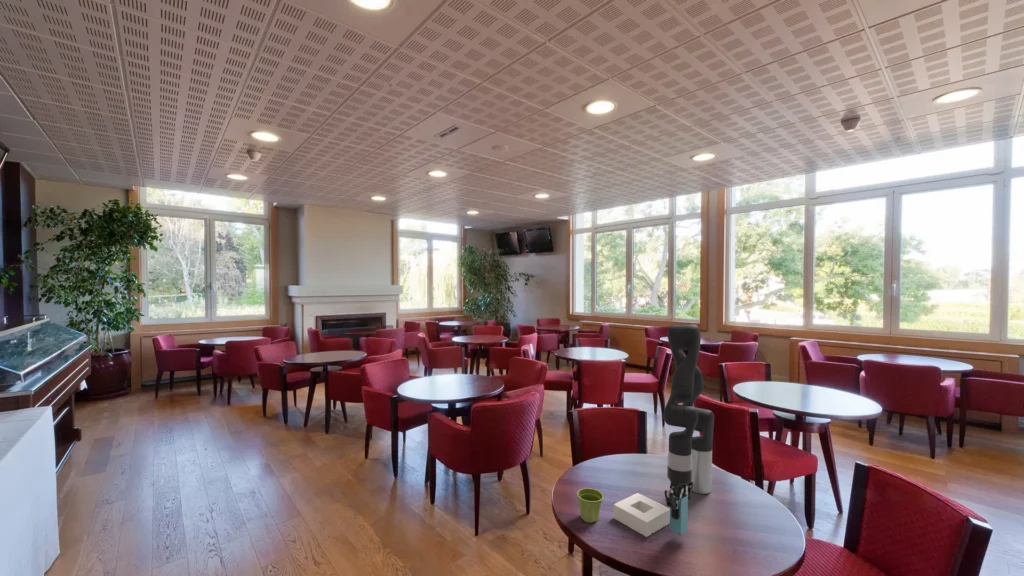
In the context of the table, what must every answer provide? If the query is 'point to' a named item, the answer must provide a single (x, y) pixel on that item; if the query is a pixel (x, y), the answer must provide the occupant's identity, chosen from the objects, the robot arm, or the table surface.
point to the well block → (642, 514)
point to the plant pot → (589, 504)
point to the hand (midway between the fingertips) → (678, 515)
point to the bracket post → (680, 516)
